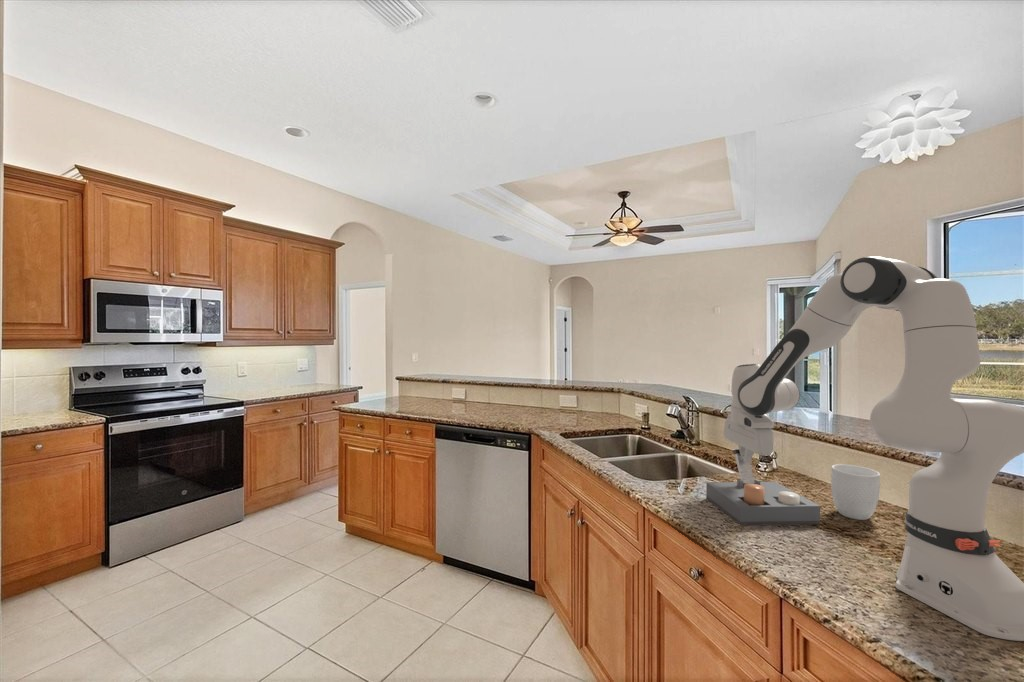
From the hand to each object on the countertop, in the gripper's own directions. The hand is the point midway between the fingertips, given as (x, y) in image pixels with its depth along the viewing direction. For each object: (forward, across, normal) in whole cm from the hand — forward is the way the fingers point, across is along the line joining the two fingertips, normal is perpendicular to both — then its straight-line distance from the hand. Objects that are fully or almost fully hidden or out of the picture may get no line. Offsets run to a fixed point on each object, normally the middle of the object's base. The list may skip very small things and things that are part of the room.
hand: (745, 461), depth 136 cm
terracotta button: (+8, +12, -5) cm, 16 cm away
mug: (+12, +10, +26) cm, 31 cm away
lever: (+7, +1, 0) cm, 7 cm away
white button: (+10, +12, +5) cm, 17 cm away
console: (+12, +7, 0) cm, 14 cm away
